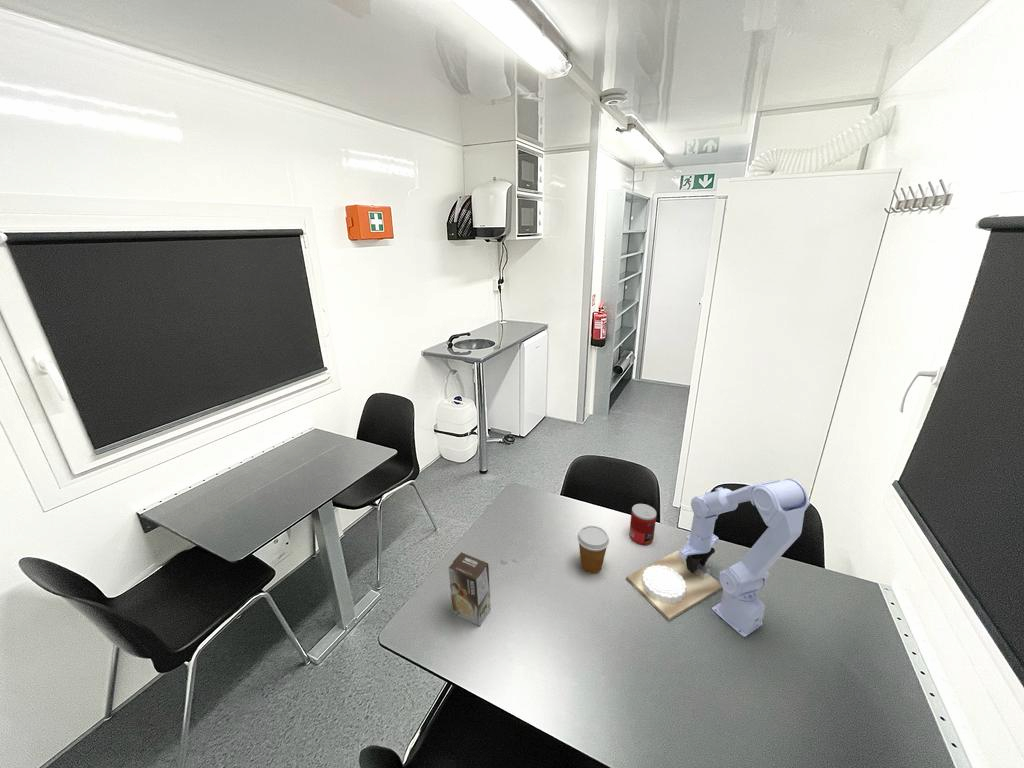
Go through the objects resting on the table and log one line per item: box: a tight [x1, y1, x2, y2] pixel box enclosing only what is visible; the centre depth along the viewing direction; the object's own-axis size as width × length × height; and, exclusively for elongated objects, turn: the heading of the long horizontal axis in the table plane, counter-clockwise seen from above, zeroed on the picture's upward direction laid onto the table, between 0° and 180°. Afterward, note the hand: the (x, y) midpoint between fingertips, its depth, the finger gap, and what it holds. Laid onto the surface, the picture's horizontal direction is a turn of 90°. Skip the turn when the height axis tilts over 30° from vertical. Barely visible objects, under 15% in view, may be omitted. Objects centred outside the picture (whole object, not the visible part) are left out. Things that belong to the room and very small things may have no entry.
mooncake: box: [642, 565, 686, 604], centre depth 115 cm, size 12×12×4 cm
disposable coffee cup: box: [576, 525, 610, 575], centre depth 122 cm, size 10×10×12 cm
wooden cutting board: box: [625, 550, 723, 622], centre depth 117 cm, size 16×22×3 cm
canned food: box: [628, 503, 657, 546], centre depth 134 cm, size 8×8×11 cm
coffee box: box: [448, 552, 492, 627], centre depth 107 cm, size 9×6×16 cm
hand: (695, 568), depth 121 cm, fingers open, 3 cm apart
